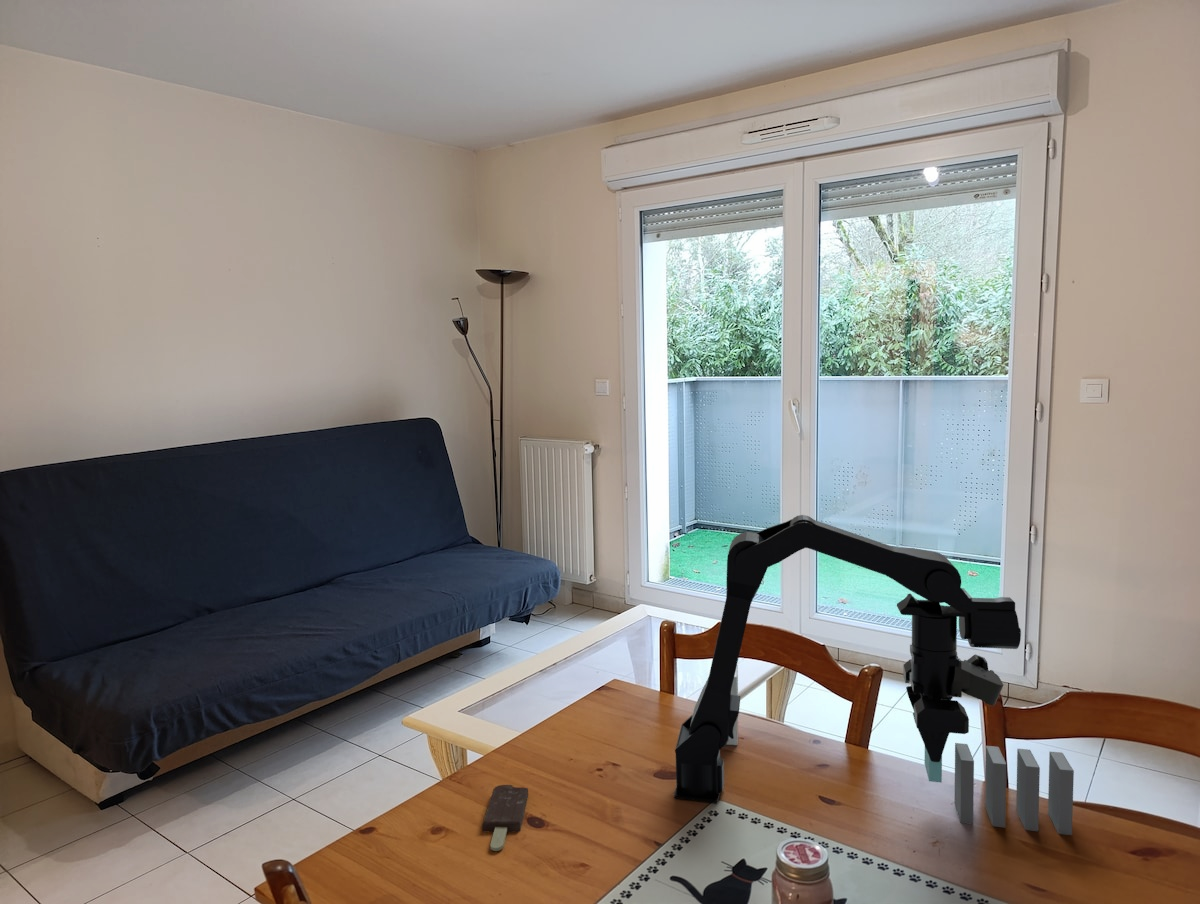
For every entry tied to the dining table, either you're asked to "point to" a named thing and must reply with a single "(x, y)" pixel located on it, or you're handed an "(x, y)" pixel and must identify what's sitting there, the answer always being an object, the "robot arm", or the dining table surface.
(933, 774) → the placed domino
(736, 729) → the skincare box
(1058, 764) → the domino
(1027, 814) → the domino
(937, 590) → the robot arm
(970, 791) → the domino
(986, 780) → the domino
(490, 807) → the ice cream bar
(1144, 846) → the dining table surface
